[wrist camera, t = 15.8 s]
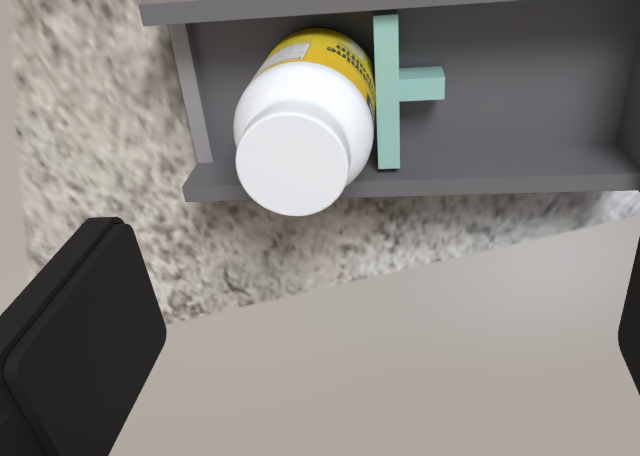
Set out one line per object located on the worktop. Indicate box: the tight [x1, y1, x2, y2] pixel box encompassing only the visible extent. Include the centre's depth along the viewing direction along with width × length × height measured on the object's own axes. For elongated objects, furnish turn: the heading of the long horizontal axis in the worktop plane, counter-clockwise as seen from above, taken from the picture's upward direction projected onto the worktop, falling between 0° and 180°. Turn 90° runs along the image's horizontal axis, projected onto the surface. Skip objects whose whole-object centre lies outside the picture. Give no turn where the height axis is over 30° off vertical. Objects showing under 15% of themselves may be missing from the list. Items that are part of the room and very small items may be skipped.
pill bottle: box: [233, 26, 376, 216], centre depth 28 cm, size 6×6×12 cm
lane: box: [139, 0, 640, 202], centre depth 30 cm, size 26×11×7 cm, turn 95°
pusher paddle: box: [373, 9, 445, 169], centre depth 31 cm, size 4×8×3 cm, turn 5°
